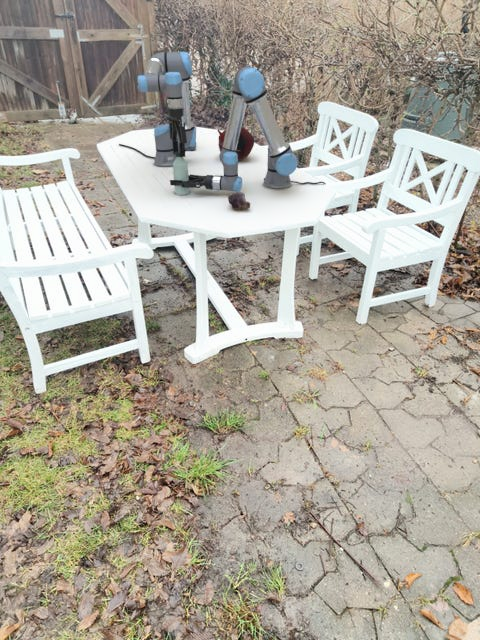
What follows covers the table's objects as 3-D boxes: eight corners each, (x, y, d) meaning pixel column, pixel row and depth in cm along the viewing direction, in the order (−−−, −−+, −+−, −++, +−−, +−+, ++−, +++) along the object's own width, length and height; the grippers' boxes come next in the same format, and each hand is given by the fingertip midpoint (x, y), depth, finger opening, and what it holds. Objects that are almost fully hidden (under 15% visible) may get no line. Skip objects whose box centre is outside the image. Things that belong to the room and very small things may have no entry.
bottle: (174, 194, 244) (170, 154, 232) (176, 190, 251) (172, 151, 239) (188, 194, 244) (185, 154, 232) (190, 190, 251) (187, 150, 239)
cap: (183, 156, 235) (183, 152, 233) (175, 157, 234) (174, 153, 233) (183, 154, 238) (183, 150, 237) (175, 155, 238) (174, 151, 237)
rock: (241, 205, 233) (224, 208, 228) (240, 189, 229) (223, 191, 225) (252, 209, 223) (235, 212, 219) (252, 191, 219) (234, 194, 215)
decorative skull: (215, 132, 306) (215, 129, 282) (249, 124, 305) (251, 121, 281) (222, 164, 313) (222, 164, 289) (255, 157, 312) (258, 156, 288)
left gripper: (159, 105, 228) (164, 152, 241) (178, 111, 215) (182, 160, 228) (173, 104, 232) (176, 150, 245) (191, 109, 218) (194, 158, 231)
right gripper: (208, 195, 234) (167, 193, 238) (218, 183, 251) (179, 181, 255) (207, 181, 230) (165, 178, 234) (218, 169, 247) (178, 167, 251)
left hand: (179, 155), depth 236 cm, fingers open, 7 cm apart
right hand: (173, 180), depth 244 cm, fingers closed on bottle, 8 cm apart
